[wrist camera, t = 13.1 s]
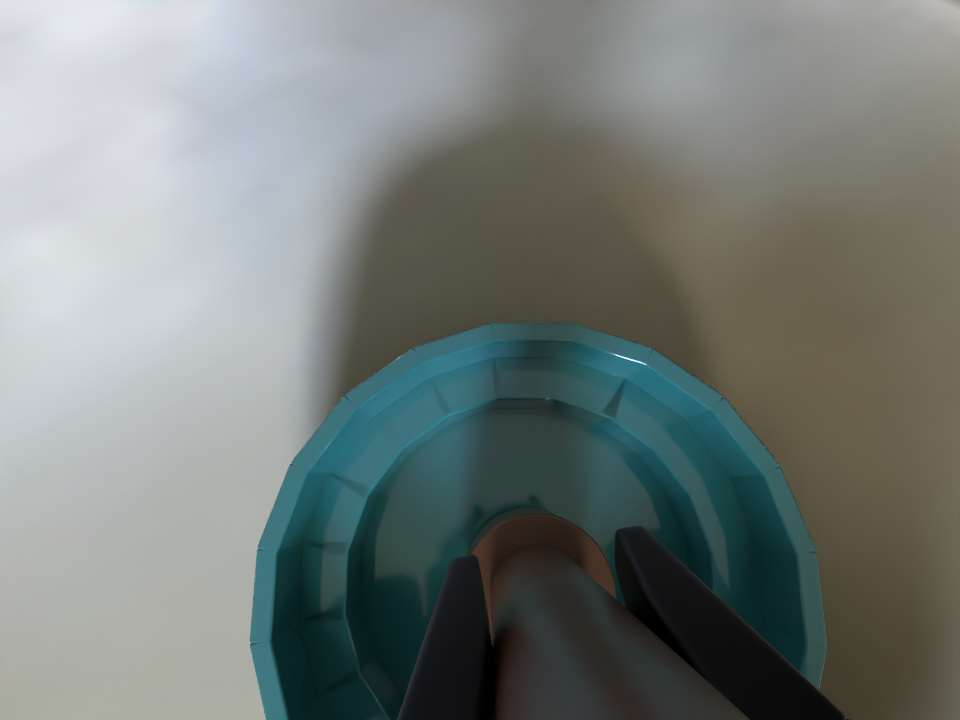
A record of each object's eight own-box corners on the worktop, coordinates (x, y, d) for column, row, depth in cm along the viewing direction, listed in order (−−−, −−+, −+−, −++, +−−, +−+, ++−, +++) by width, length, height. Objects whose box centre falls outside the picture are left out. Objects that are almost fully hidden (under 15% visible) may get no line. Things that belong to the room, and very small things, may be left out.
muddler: (610, 618, 16) (1440, 1521, 2) (487, 661, 16) (501, 1974, 2) (567, 491, 16) (970, 535, 3) (448, 530, 16) (254, 787, 3)
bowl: (808, 720, 16) (926, 809, 12) (375, 878, 16) (333, 1034, 11) (645, 309, 19) (694, 258, 15) (266, 429, 18) (198, 413, 14)
